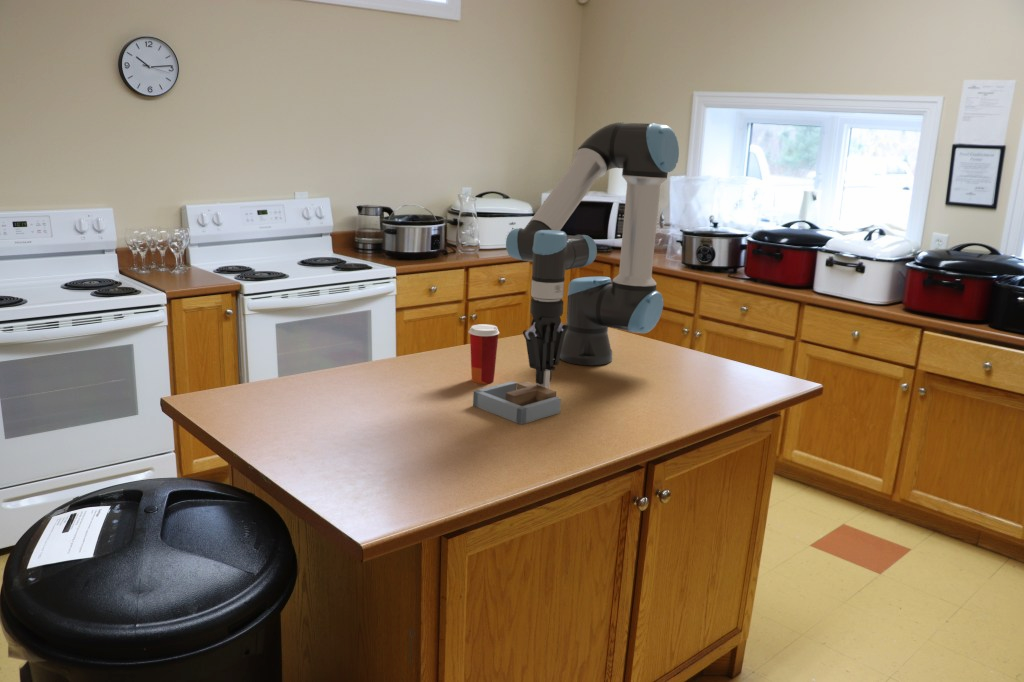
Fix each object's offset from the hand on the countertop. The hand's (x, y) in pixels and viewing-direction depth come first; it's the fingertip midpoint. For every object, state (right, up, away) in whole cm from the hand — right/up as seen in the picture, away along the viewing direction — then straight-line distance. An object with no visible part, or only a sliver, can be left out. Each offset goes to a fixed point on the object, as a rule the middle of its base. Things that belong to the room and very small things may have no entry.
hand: (542, 395), depth 200 cm
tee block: (-4, -2, -3) cm, 6 cm away
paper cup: (-15, +3, +15) cm, 21 cm away
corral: (-6, -3, -5) cm, 8 cm away
